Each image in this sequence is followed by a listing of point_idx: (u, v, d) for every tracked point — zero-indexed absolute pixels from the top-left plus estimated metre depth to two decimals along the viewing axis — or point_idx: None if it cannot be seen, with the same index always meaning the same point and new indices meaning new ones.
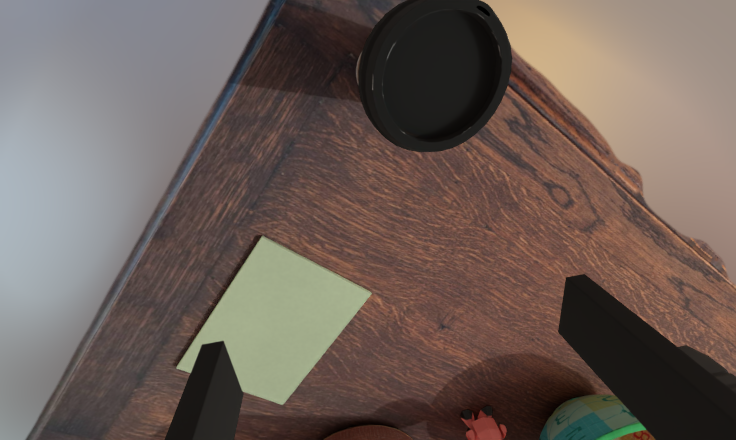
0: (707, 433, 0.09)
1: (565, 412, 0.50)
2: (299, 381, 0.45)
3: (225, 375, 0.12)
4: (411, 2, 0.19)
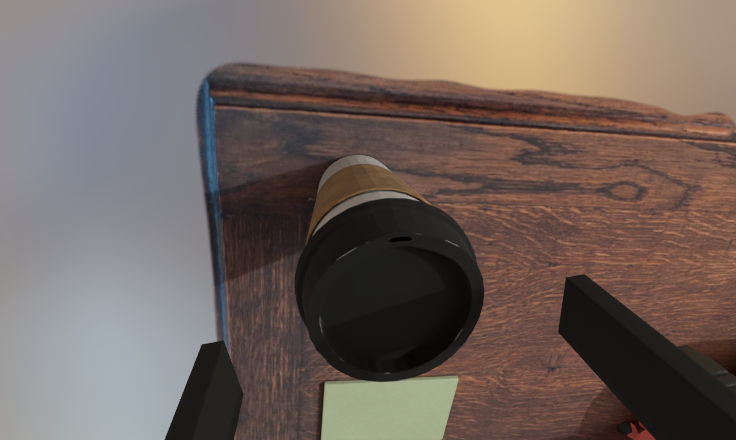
0: (707, 433, 0.09)
1: None
2: None
3: (225, 375, 0.12)
4: (316, 245, 0.14)
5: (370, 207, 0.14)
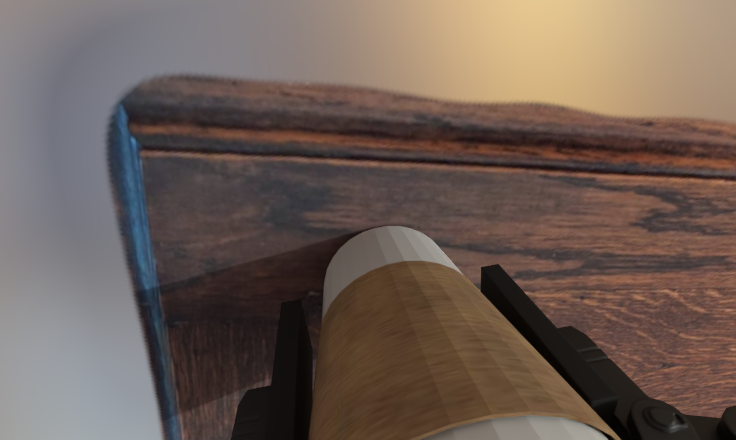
0: None
1: None
2: None
3: (304, 329, 0.14)
4: None
5: None
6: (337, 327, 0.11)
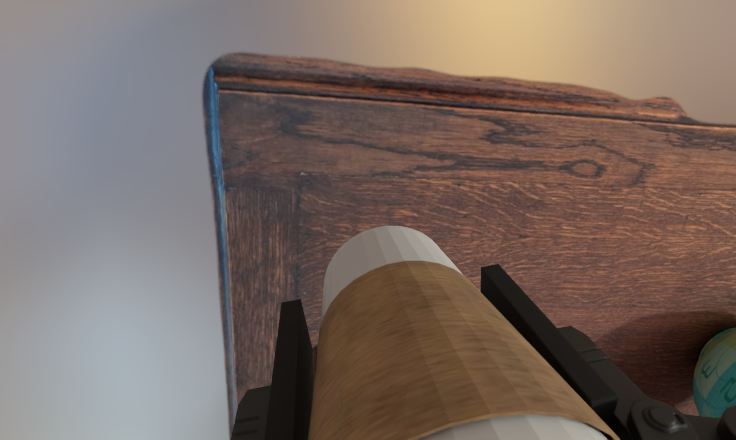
0: None
1: (709, 362, 0.44)
2: None
3: (304, 329, 0.14)
4: None
5: None
6: (337, 327, 0.11)
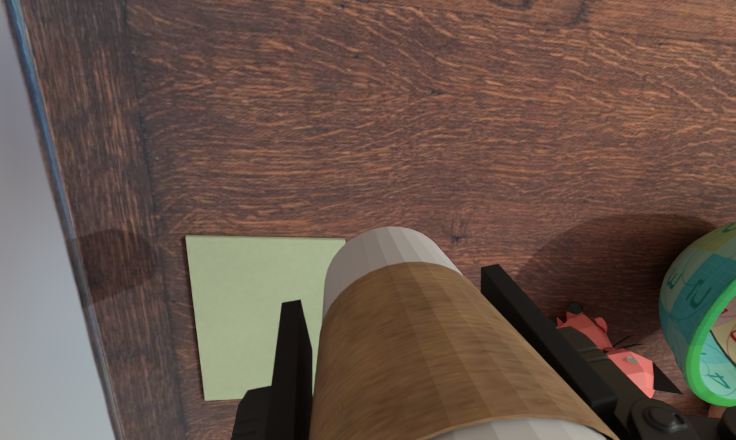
0: None
1: (676, 270, 0.36)
2: None
3: (304, 329, 0.14)
4: None
5: None
6: (337, 328, 0.11)
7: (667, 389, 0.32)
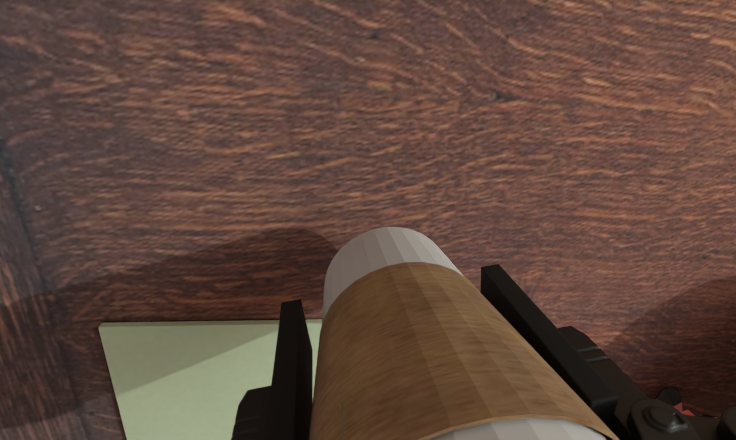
0: None
1: None
2: None
3: (304, 328, 0.14)
4: None
5: None
6: (337, 329, 0.11)
7: None
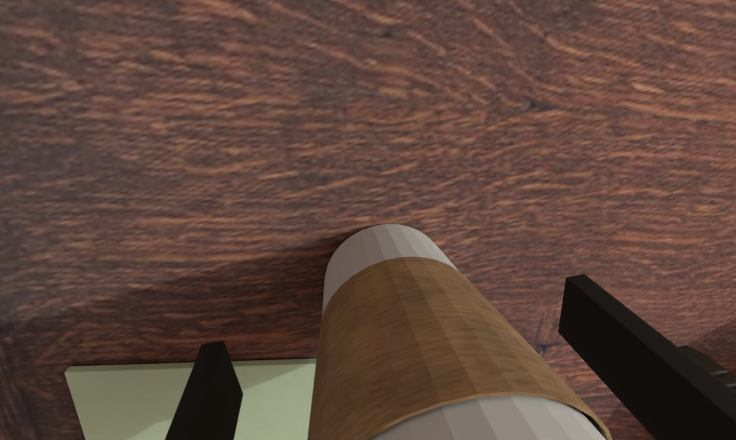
0: (707, 433, 0.09)
1: None
2: None
3: (225, 375, 0.12)
4: None
5: None
6: (337, 319, 0.11)
7: None
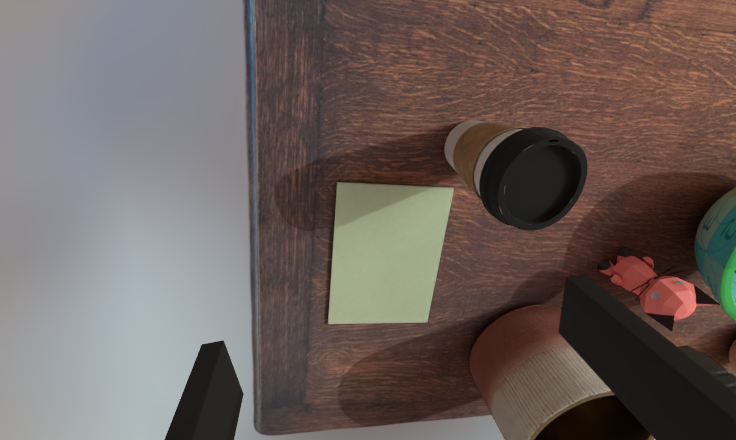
0: (707, 433, 0.09)
1: (710, 215, 0.45)
2: (430, 295, 0.49)
3: (225, 375, 0.12)
4: (500, 150, 0.28)
5: (530, 130, 0.28)
6: (467, 137, 0.35)
7: (707, 302, 0.41)
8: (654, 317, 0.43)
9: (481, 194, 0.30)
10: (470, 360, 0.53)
